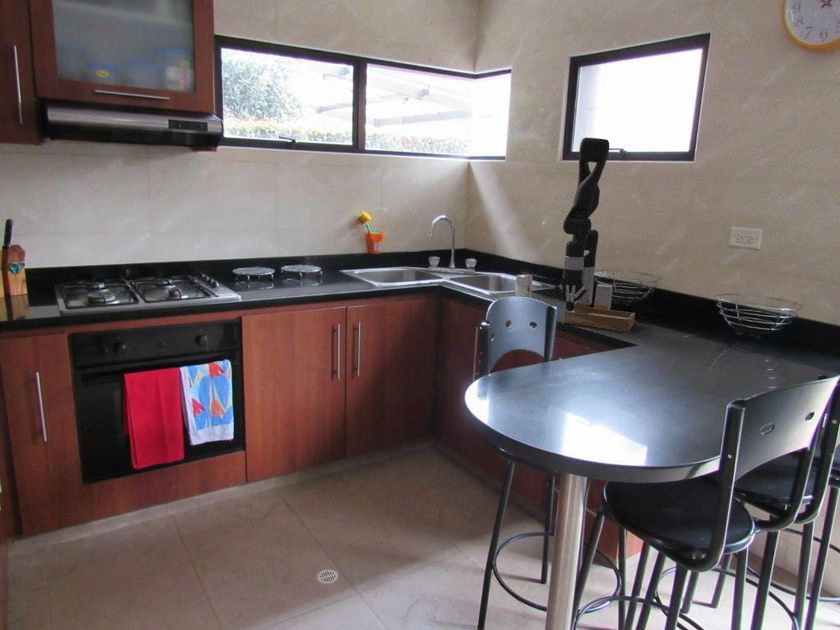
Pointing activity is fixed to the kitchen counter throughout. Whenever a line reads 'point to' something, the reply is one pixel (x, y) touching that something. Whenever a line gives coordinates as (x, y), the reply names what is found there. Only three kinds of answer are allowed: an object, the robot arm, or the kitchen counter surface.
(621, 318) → the trap tray
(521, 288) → the blue flashlight
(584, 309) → the block
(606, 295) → the skincare box
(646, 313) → the kitchen counter surface
